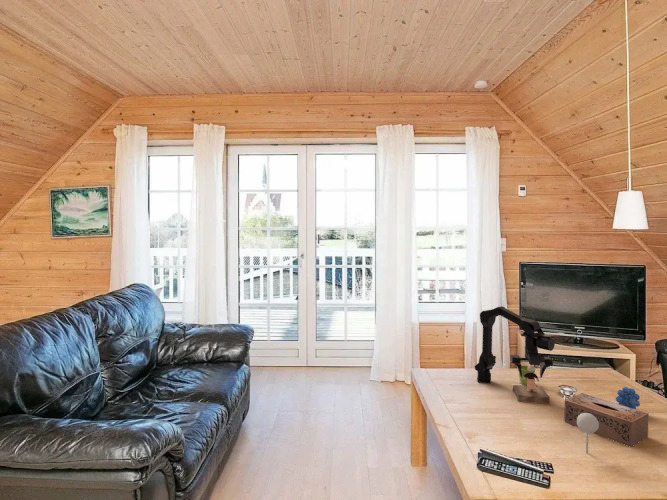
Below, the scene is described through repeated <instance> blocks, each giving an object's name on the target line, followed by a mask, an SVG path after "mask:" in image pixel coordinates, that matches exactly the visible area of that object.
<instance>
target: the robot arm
mask: <svg viewBox="0 0 667 500" xmlns="http://www.w3.org/2000/svg"><path fill="white" fill-rule="evenodd" d="M498 316H501V317H503V318H504V319H506V320H508V321H510V322H511V323H514V324H515V325H517V326H518V327H519V329H520V330H522V331H523V332H522V333H521V334H520V336H521V337H524V357H520V355H517V354H511V355H510V357H509V360H510V362H511V364H514V365H515V366H516V368H518V369H517V371H518V370H519V371H518V374H519V373H520V376H521V377H522V371H521V365H522V364H521V363H522V362H525V363H528V364H529V366H530V365H531V366H539V367H540V369H539V378H540V379H542V378H543V375H544V374H545V371H546V369H548V368H550V367H551V366H554V361H553V359H552V358H551V357H550V356H545V355H544V354H539V349H542V350H545V351H548V352H551V351H553V350H554V349H555V345H556V343H555V339H553V336H552V335H546V334H545V332H544V331H543V329H542V328H541V325H540V322H538V321H537V320H534V319H531V318H526V317H523V316H521V315H518V314H517V313H515V312H513V311H512V310H509V309H508V308H506V307H505V306H501V305H500V306H496V307H495V308H492V309H487V310H481V312H480V313H479V320H480V323H481V326H482V351H481V354H480V356H479V358H478V359H479V360H478V363H476V364H475V365H474V367H473V368H474V370H475V371H477V375H476V380H477V383H485V384H491V381H492V373H491V370H493V367H494V366H495V364H497V361H496V359H497V355H494V354H493V350H492V349H493V327H494V324H495V322H496V319H497V317H498Z"/></svg>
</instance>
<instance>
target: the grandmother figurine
mask: <svg viewBox="0 0 667 500" xmlns="http://www.w3.org/2000/svg"><path fill="white" fill-rule="evenodd" d="M527 366H528V368H527V369H528V371H529V372H530V373H526V374H525V375H524V377H523V380H525V378H527V385H526V386H527V391H529V392H531V390H532V391H533V392H536V390H535V386H536V381H537V382H540V379H539V376H538V375H537V373H536V370H535V369H534V368H535V367H534V366H535V365H530V364H529V365H527ZM534 371H535V373H533V372H534ZM535 379H536V380H535Z"/></svg>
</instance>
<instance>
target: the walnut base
mask: <svg viewBox="0 0 667 500" xmlns="http://www.w3.org/2000/svg"><path fill="white" fill-rule="evenodd" d="M535 390H536V392H533V391H532V390H531V392H529V391H527V385H523V384H521V385H518V384H513V385H512V392H513V393H514V395H515V398H516V399H517V401H518V402H524V403H525V402H526V403H539V404H550V398H551V397H550V396H549V394H548V393H547V392H546V390H545V389H544V388H543V386H536V385H535Z"/></svg>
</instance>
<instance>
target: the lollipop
mask: <svg viewBox="0 0 667 500" xmlns="http://www.w3.org/2000/svg"><path fill="white" fill-rule="evenodd" d="M577 425H578V427H577V428H578V429H579V430H580V431H582V432H583V433H586V434H585V453H586V454H588V453H589V434H595V433H594V432H596V431H597V429H598V427H599V423H598V420H597V419H596V417H595V416H593V415H592V414H589V413H582V414H580V415H579V416H578V417H577Z"/></svg>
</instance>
